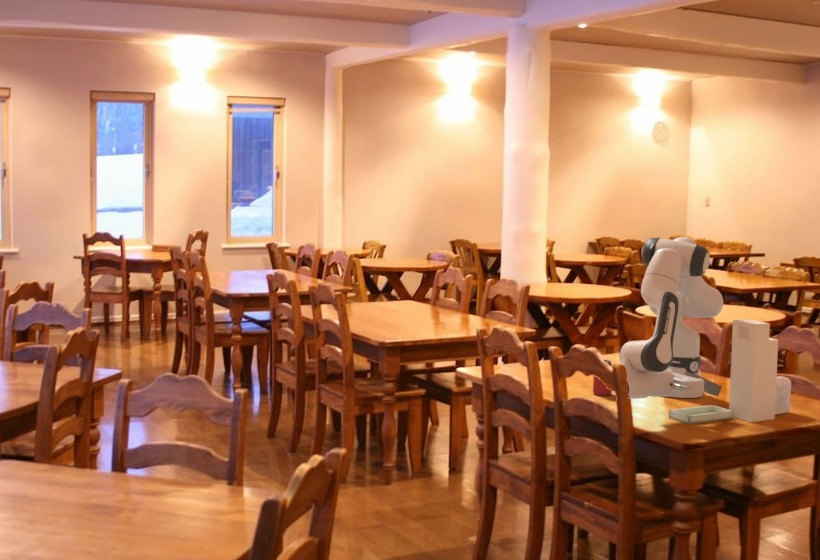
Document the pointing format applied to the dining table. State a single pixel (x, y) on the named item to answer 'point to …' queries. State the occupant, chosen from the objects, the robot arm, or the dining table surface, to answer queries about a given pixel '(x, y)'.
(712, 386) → the drive caddy
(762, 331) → the white dispenser tower
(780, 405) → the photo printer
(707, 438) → the dining table surface
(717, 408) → the tray
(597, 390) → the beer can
